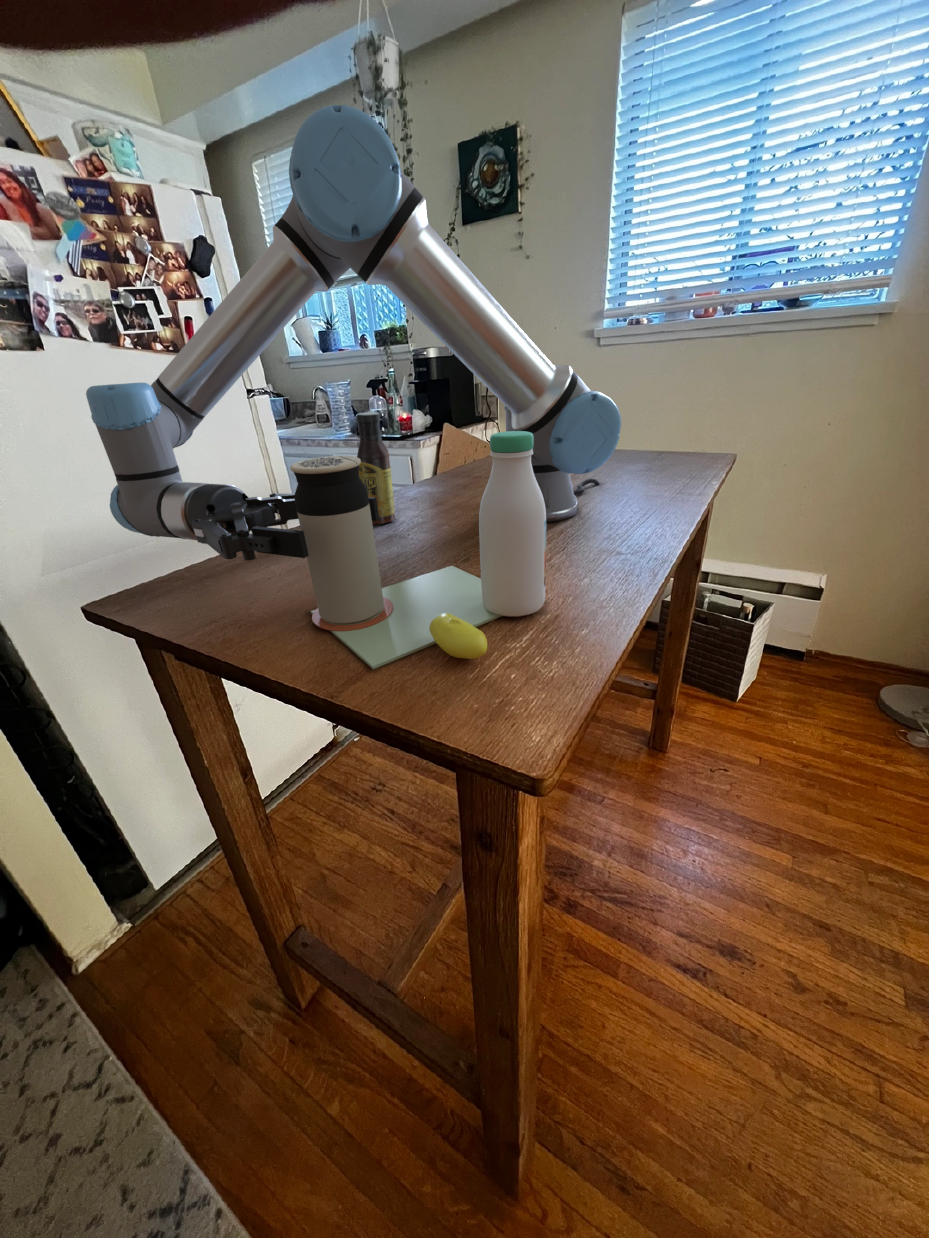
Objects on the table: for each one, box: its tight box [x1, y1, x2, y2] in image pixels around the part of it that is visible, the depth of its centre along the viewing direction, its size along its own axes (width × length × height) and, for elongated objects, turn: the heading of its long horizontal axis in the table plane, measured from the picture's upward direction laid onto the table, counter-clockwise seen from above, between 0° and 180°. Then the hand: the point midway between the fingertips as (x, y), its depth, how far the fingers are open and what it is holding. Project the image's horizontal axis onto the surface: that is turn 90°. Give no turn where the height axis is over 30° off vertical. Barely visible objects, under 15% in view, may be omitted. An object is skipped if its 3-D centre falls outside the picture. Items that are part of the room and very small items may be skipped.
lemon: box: [430, 613, 488, 660], centre depth 52 cm, size 4×8×4 cm, turn 37°
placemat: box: [310, 565, 504, 670], centre depth 63 cm, size 23×18×1 cm
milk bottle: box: [478, 431, 547, 617], centre depth 57 cm, size 8×8×20 cm
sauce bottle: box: [356, 411, 396, 526], centre depth 94 cm, size 6×6×20 cm
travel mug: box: [289, 455, 384, 623], centre depth 58 cm, size 8×8×18 cm
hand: (343, 525), depth 57 cm, fingers open, 13 cm apart
